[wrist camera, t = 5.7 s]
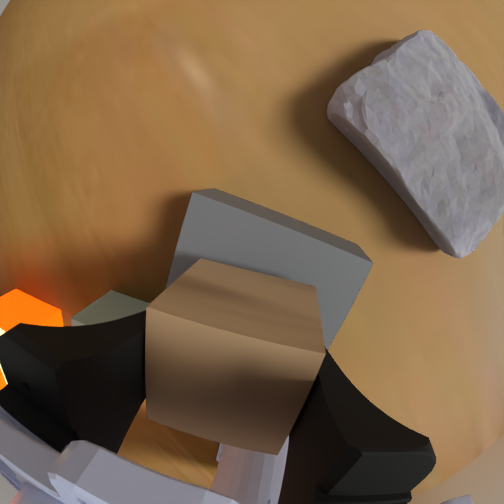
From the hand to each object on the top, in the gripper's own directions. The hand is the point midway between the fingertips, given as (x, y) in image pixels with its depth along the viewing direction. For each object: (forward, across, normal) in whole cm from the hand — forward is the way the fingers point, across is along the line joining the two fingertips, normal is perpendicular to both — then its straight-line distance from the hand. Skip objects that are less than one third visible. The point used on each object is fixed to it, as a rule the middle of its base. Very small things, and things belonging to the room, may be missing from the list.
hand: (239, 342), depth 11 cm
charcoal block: (+7, 0, 0) cm, 7 cm away
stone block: (+7, -8, -12) cm, 16 cm away
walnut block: (+2, 0, 0) cm, 2 cm away
